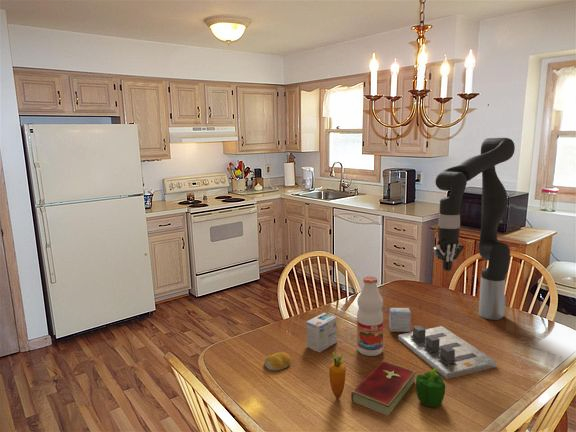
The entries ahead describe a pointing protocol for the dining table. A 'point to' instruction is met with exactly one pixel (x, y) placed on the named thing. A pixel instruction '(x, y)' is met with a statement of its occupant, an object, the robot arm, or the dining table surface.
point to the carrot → (337, 376)
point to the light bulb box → (321, 332)
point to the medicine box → (399, 319)
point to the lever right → (418, 333)
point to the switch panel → (464, 353)
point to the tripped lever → (447, 354)
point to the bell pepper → (430, 388)
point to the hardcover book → (383, 387)
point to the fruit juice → (370, 319)
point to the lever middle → (432, 343)
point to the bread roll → (277, 361)
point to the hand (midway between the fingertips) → (447, 270)
